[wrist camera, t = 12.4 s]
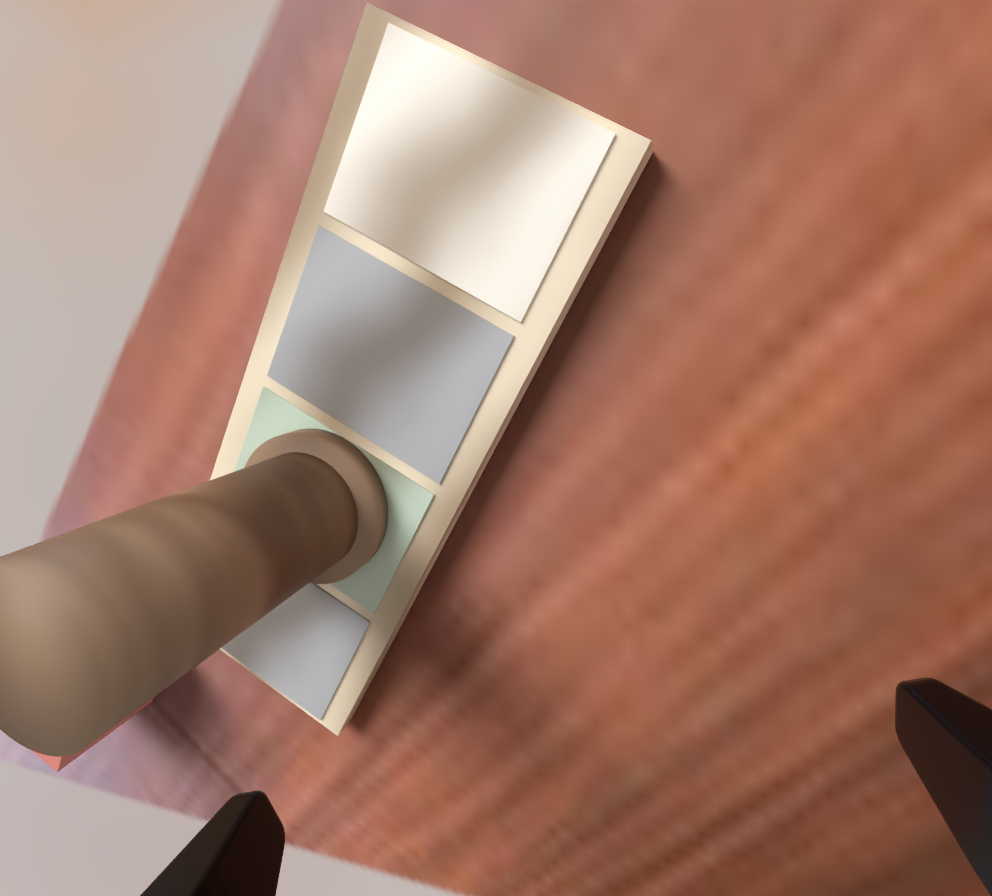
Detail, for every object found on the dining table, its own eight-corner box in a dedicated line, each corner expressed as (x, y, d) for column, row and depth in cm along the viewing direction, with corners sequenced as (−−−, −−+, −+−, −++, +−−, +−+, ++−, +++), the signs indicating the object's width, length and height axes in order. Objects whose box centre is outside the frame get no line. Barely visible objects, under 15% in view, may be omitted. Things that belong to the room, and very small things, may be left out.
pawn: (386, 436, 21) (105, 557, 11) (389, 584, 22) (144, 816, 12) (251, 421, 23) (-103, 514, 12) (262, 560, 24) (-46, 745, 14)
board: (653, 151, 17) (651, 139, 16) (352, 717, 26) (336, 737, 25) (385, 20, 19) (365, 0, 18) (187, 598, 28) (165, 611, 27)
